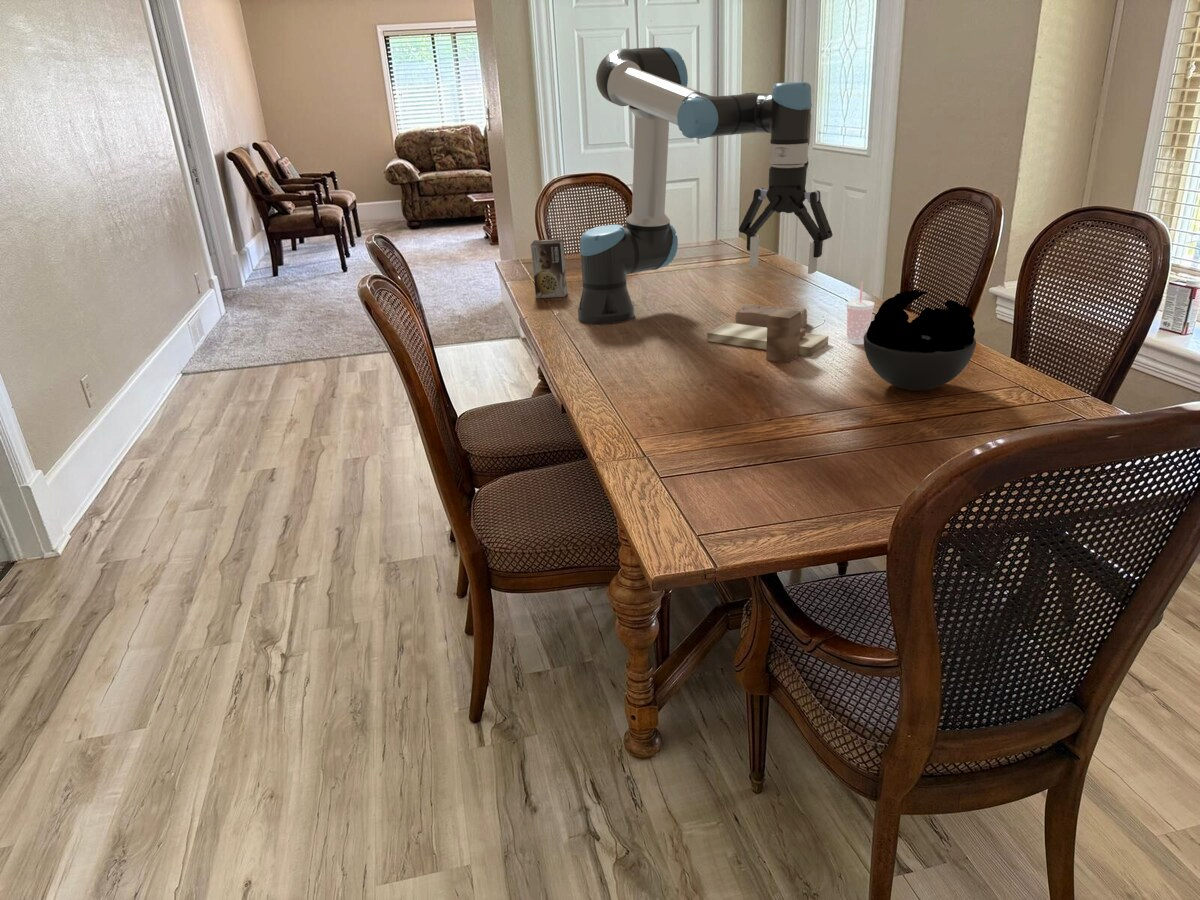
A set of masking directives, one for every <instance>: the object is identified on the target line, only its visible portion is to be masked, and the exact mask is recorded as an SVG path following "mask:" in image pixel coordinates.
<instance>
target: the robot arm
mask: <svg viewBox="0 0 1200 900" xmlns="http://www.w3.org/2000/svg"><path fill="white" fill-rule="evenodd" d="M595 75H596V76H595V81H596V86H597V87H596V88H597V90H598V92H599V94H601V96H602V97H603V98H604V99H605V100H606V101H608V102H610V103H612V104H614V105H617V106H620V107H627V106H628V109H629V110H630V112H631V113H632V114H633V115H634V138H633V140H634V141H633V169H632V173H633V174H632V198H631V199H632V201H631V202H632V203H631V204H632V205H631V208H632V209H631V213H630V214H629V215H628V216H627V217H626V220H625V227H624V226H623V225H621V224H613V223H612V224H608V225H600V226H596V227H593V228H590V229H588V230H586V231H584V232H583V233H582V234H581V236H580V239H579V240H580V242H579V243H580V244H579V245H580V246H579V247H580V248H579V254H580V262H581V263H580V266H581V277H582V292H581V295H580V296H581V297H580V300H579V304H578V309H577V317H578V320H579V321H581V322H583V323H585V324H586V323H587V324H592V325H594V324H595V325H607V324H608V325H609V324H611V325H612V324H618V323H622V322H626V321H629V320H631V319H633V318H634V316H635V308H634V304H633V302H632V298H631V295H630V293H629V290H628V288H627V287H628V286H627V275H630V274H636V273H641V272H646V271H655V270H658V269H660V268H665V267H667V266H669V264H671V263H672V262H673V261H674V259H675V257H676V255H677V252H678V248H679V247H678V246H679V245H678V244H679V240H678V235H676V233H677V231H676V229H675V228H674V226H673V225H672V224H671V223H670V222H671V219H670V218H669V217H668V216H667V215H666V212H665V209H666V193H667V192H666V191H667V173H668V172H667V171H668V170H667V169H668V152H669V150H668V149H669V136H670V135H669V133H670V123H671V124H674V125H676V126H677V127H678V130H679V131H681V133H682V135H683V136H684V137H685V138H689V139H701V140H702V139H706V138H713V137H722V136H724V137H725V136H734V135H743V134H753V133H760V134H761V133H764V134H770V141H769V142H770V143H769V145H770V147H769V150H770V151H769V164H770V165H771V166H770V167H769V169H768V189H765V188H764V187H760V188H756V189H754V191H753V198H752V201H751V203H750V205H749V207H748V209H747V211H746V212H745V213H746V214H745V215H744V218H743V219H742V222H741V223H740V225H739V227H738V231H739V232H740V233H743V234H744V235H746V251H747V252H749V264H748V265H749V268H755V267H757V266H759V255H760V254H759V253H760V252H759V251H760V235H759V234H758V232H759V230H760V229H761V228H762V227H763V226H764V225H765V223H766V222H767V221H768V220H769V219H770V217H771V216H772V215H773V214H774V213H775V212H776V213H779V214H780V213H785V214H792V213H794V215H795V216H796V217H797V218H798V220H799V221H800V223H802V225H803V226H804V228H805V230H806V231H807V233H808V234H809V235H810V237H811V239H812V241H810V242H809V250H808V251H809V252H808V253H809V254H808V265H807V266H808V267H807V274H808V275H812V274H815V273H816V272H817V268H818V258H820V257H822V255H823V245H824V241H827V240H829V239H830V238H832V237H833V232H832V231H833V230H832V229H831V226H830V223H829V220H828V218H827V215H826V212H825V211H824V210H825V209H824V208H823V204H822V202H821V192H820V190H814V191H808V192H807V190H806V183H807V170H808V168H807V166H806V165H805V164H807V162H808V158H809V156H808V154H809V152H808V151H809V138H810V137H809V136H810V124H811V111H812V86H811V84H810V83H809V82H807V81H797V82H795V81H793V82H792V81H791V82H777V83H774V85H773V88H772V93H760V92H745V93H741V94H733V95H732V94H730V95H715V96H714V95H709V94H706V93H703V92H700V91H699V90H696V89H693V88H690V87H689V86H688V81H689V76H688V68H687V65H686V62H685V60H684V59H683V57H682V55H681V54H680V52H678V51H677V50H676V49H674V48H671V47H663V46H662V47H660V46H653V47H652V46H651V47H639V48H638V47H636V48H619V49H616V50H613V51H611V52H610V53H608V54H607V55H605V56H604V58H603V59H602V60H601V61H600V62H599V64H598V67H597V70H596V74H595ZM766 198H767V200H768V201H769V203H768V204H767V206H766V207H765V208H764V210H763V212H762V213H761V214H760V215H759V216H758V218H756V220H755V217H756V215H757V214H758V211H759V209H760V207H761V206H762V204H763V200H765V199H766ZM805 201H807V202H808V203H809V205H810V208H811V211H812V213H813V216H814V219H815V220H813V218H812V216H811V215H810V213H809V212H808V209H807V207H806V206H805V204H804V202H805ZM754 220H755V221H754ZM753 221H754V222H753ZM815 221H816V222H815Z"/></svg>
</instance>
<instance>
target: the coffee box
mask: <svg viewBox="0 0 1200 900" xmlns="http://www.w3.org/2000/svg"><path fill="white" fill-rule="evenodd" d="M530 252H531V261H532V271H533V272H532V273H533V282H534V293H535V295H534V296H535V298H536V299H542V298H548V299H549V298H566V295H567V294H568V285H567V284H568V283H567V274H566V273H567V272H566V262H565V261H566V260H565V249H564V238H559V239H558V238H557V239H556V238H555V239H554V238H553V239H539V240H537V239H536V240H533V241H532V242H531V243H530Z"/></svg>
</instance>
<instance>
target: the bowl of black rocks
mask: <svg viewBox="0 0 1200 900" xmlns="http://www.w3.org/2000/svg"><path fill="white" fill-rule="evenodd" d="M927 293H928V291H926V290H925V291H923V290H922V291H920V290H918V289H913V290H904V291H902V292H898V293H896V294H895V295H894V296H892V297H889V298H887V299H885V301H883V302H882V303H881V304H880V306H879V308H878V311H877V312H876V313H875V315H874V317H873V320H871V323H870V326H869V328H868V330H867V332H866V333H865V335H864V344H863V349H864V353H865V356H866V359H867V361H868V363H869V365H870V366H871V368H872V369H873V370H874V372H875V373H876V374H877V375H878V377H880V378H881V379H883V380H884V381H885V382H886V383H889V384H890V385H892V386H894V387H896V388H900V389H904V390H906V391H907V390H909V391H927V390H932V389H936V388H938V387H942V386H943V385H945V384H948V383H950V381H952V380H953V379H955V378H956V377H957V376H958V375H960V373H962V371H964V370H965V369H966V367H967V365H968V364H969V362H970V361H971V359H972V357H973V355H974V352H975V350H976V347H977V346H976V345H977V340H976V338H975V335H976V328H975V327H974V326H975V321H974V318H973V317H972V316H970V315H972V314H973V311H972V309H971V308H969V307H967V306H965V305H963V304H961V303H959V302H958V301H955V300H952V299H948V300H946V301H945V303H944V306H945V307H946V308H940V307H936V308H934V309H933V308H931V307H928V306H927V307H926V308H923V310H922V311H921V312H920V313H919V315H918V316H916V317H915V318H913V319H912V320H911V321H908V320H909V319H910V316H909V314H908V313H907V311H906V310H905V309H906V308H907V307H908V306H909V305H910V304H911V303H913V302H915V300H918V299H919V298H920V297H921V296H923V295H926V294H927Z"/></svg>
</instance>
